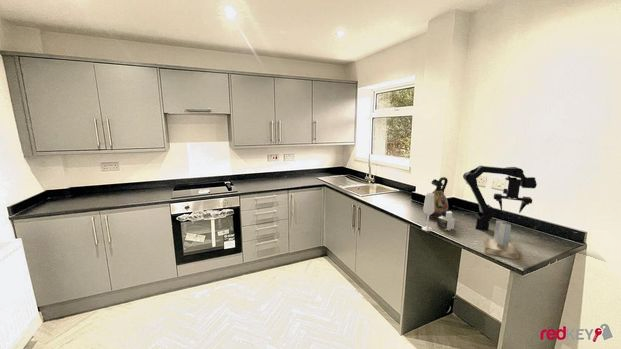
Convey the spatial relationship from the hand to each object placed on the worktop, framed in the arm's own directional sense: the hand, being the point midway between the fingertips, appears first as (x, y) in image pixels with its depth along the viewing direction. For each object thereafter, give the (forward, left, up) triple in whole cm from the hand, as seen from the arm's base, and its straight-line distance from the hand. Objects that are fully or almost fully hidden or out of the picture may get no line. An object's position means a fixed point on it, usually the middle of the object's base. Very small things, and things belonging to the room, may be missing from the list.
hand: (510, 211), depth 162 cm
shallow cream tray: (-6, -35, -13) cm, 38 cm away
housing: (-6, -35, -10) cm, 37 cm away
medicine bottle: (-34, -16, -13) cm, 40 cm away
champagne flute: (-44, -24, -13) cm, 52 cm away
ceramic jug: (-42, +6, -13) cm, 44 cm away
